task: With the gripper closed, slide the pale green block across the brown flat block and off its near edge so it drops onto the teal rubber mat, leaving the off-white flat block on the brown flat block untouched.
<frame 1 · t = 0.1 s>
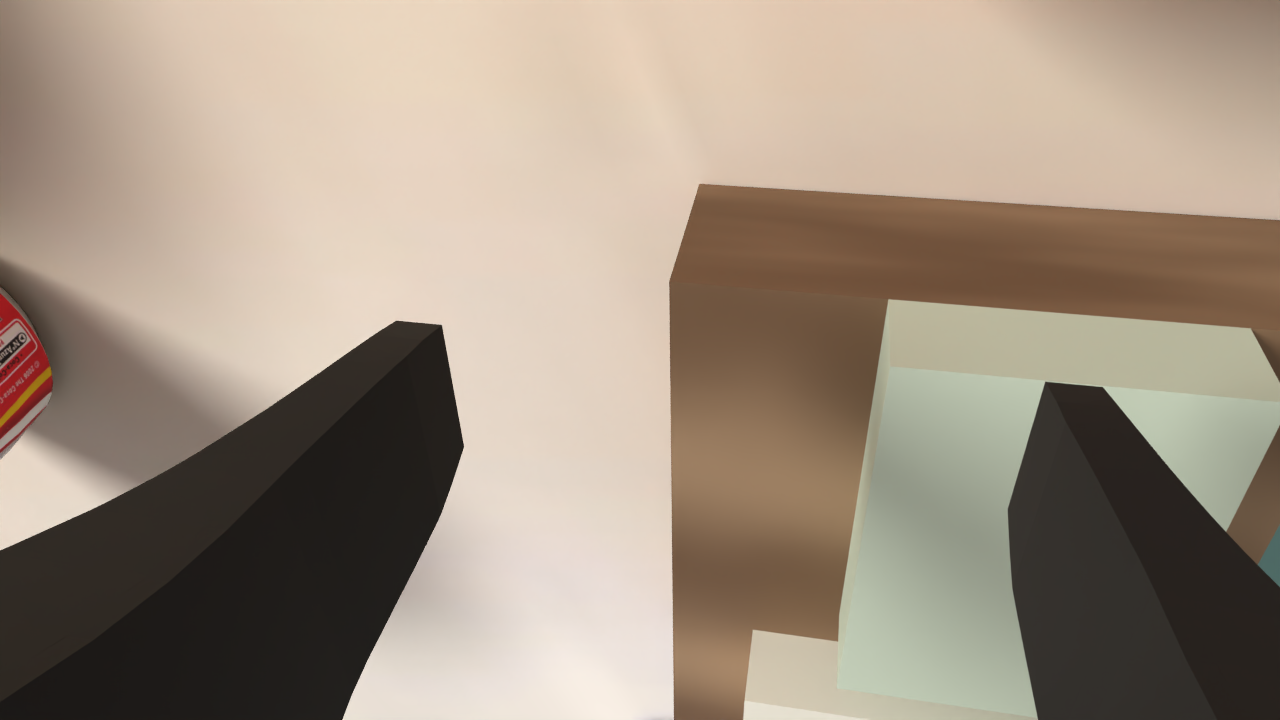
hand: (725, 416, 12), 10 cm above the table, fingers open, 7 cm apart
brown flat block: (925, 477, 25), on the table
pale green block: (1010, 495, 19), point 4 cm above the table, touching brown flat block
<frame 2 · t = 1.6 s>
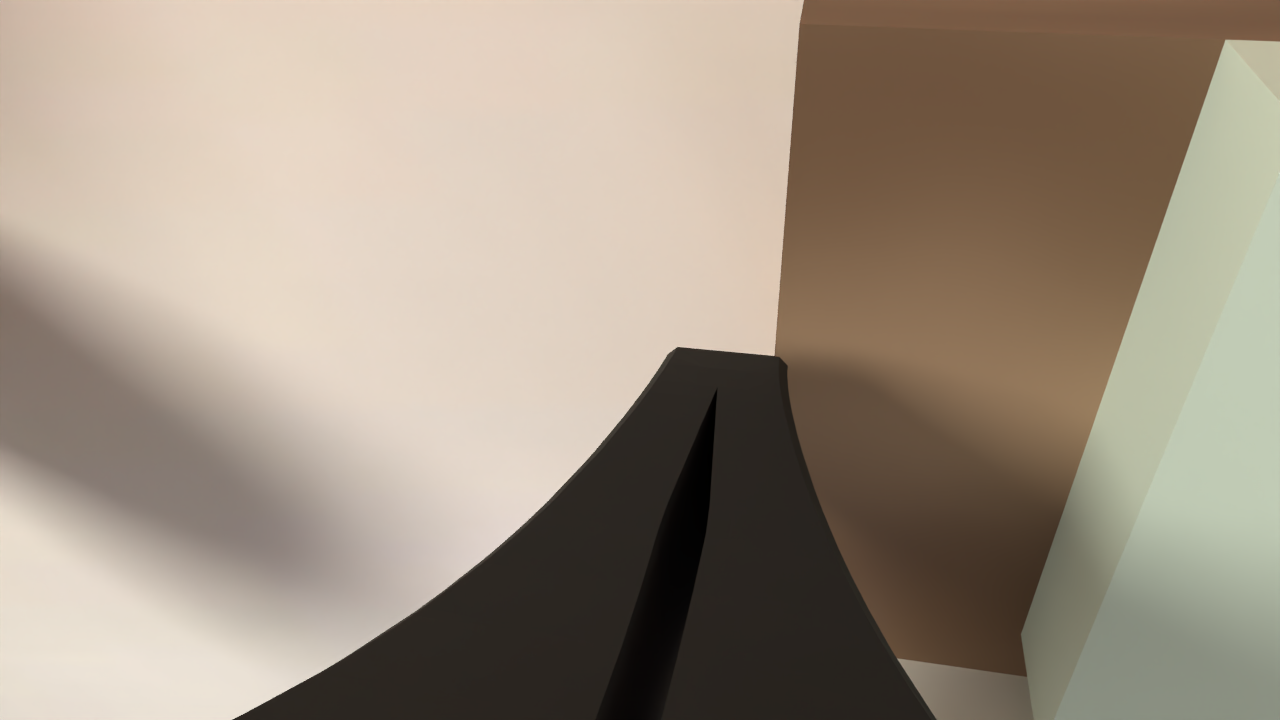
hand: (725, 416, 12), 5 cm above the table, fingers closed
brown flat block: (1125, 427, 17), on the table
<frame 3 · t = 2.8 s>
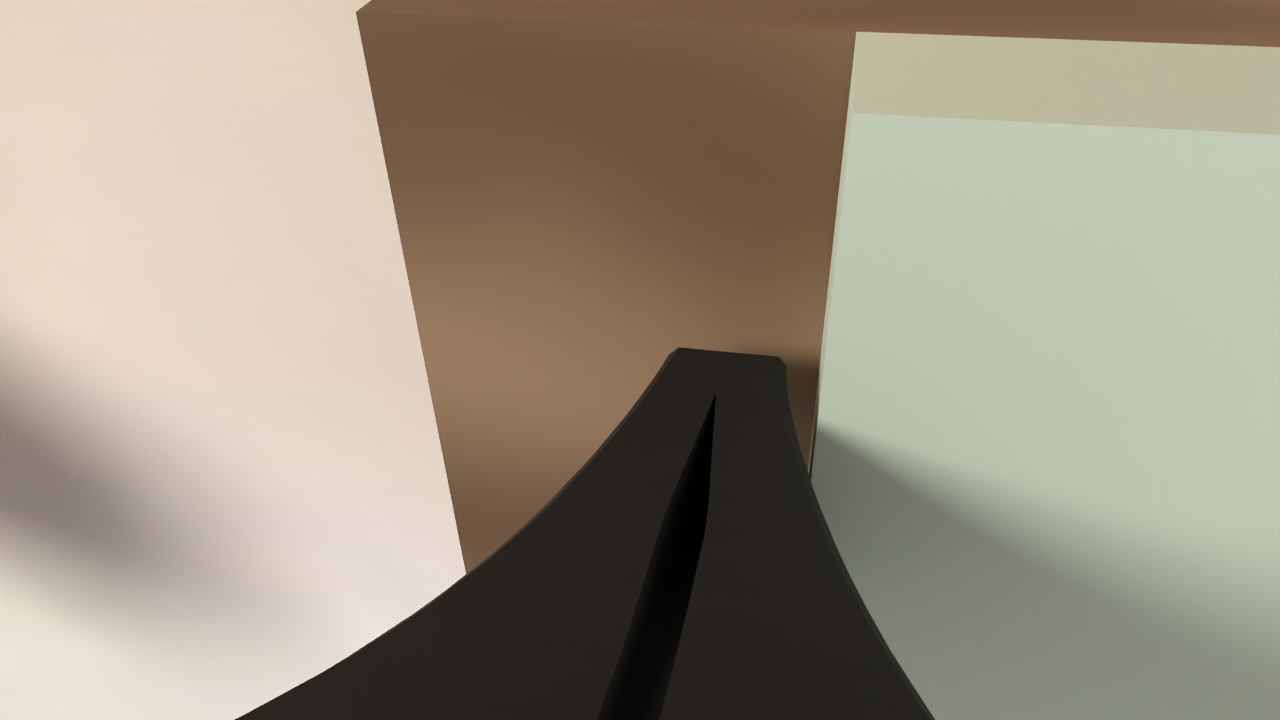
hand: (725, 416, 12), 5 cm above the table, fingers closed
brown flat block: (849, 407, 17), on the table
pale green block: (1067, 414, 12), point 4 cm above the table, touching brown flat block
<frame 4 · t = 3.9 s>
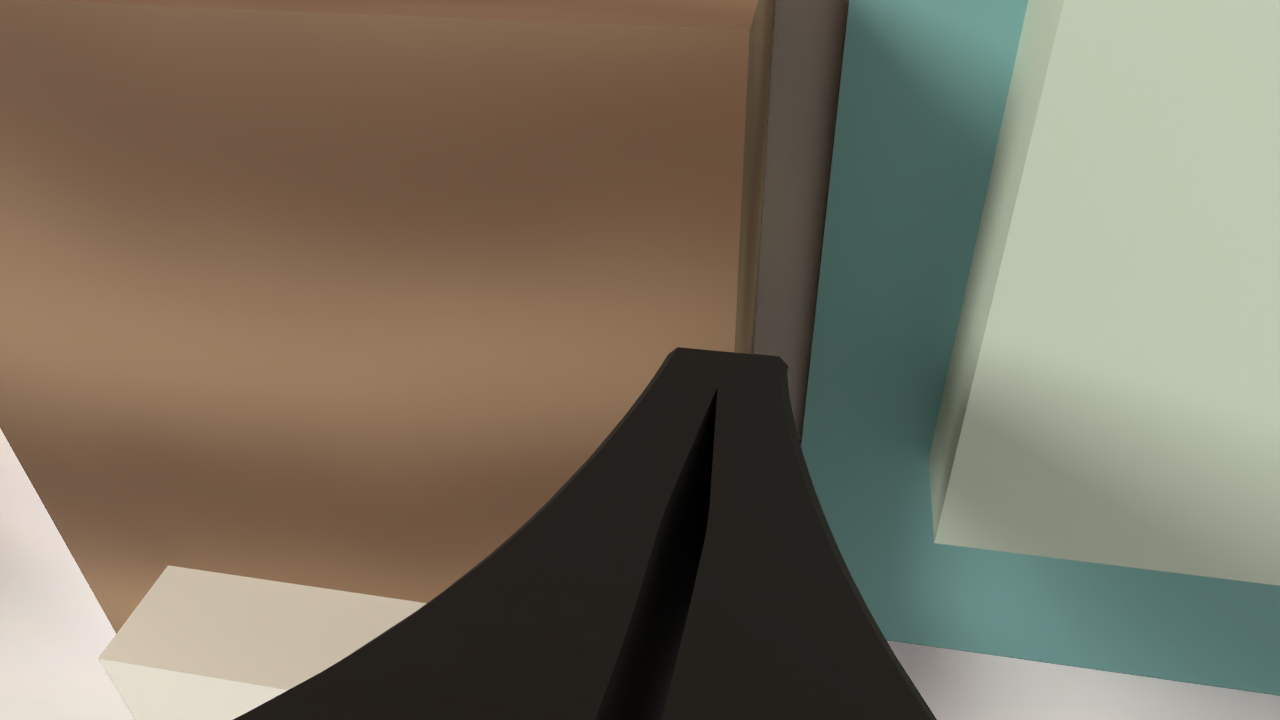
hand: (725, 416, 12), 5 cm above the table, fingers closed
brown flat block: (440, 365, 18), on the table
pale green block: (1228, 336, 12), point 2 cm above the table, tilted 180°, touching mat
off-white flat block: (429, 700, 18), point 4 cm above the table, touching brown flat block
mat: (1145, 391, 16), on the table
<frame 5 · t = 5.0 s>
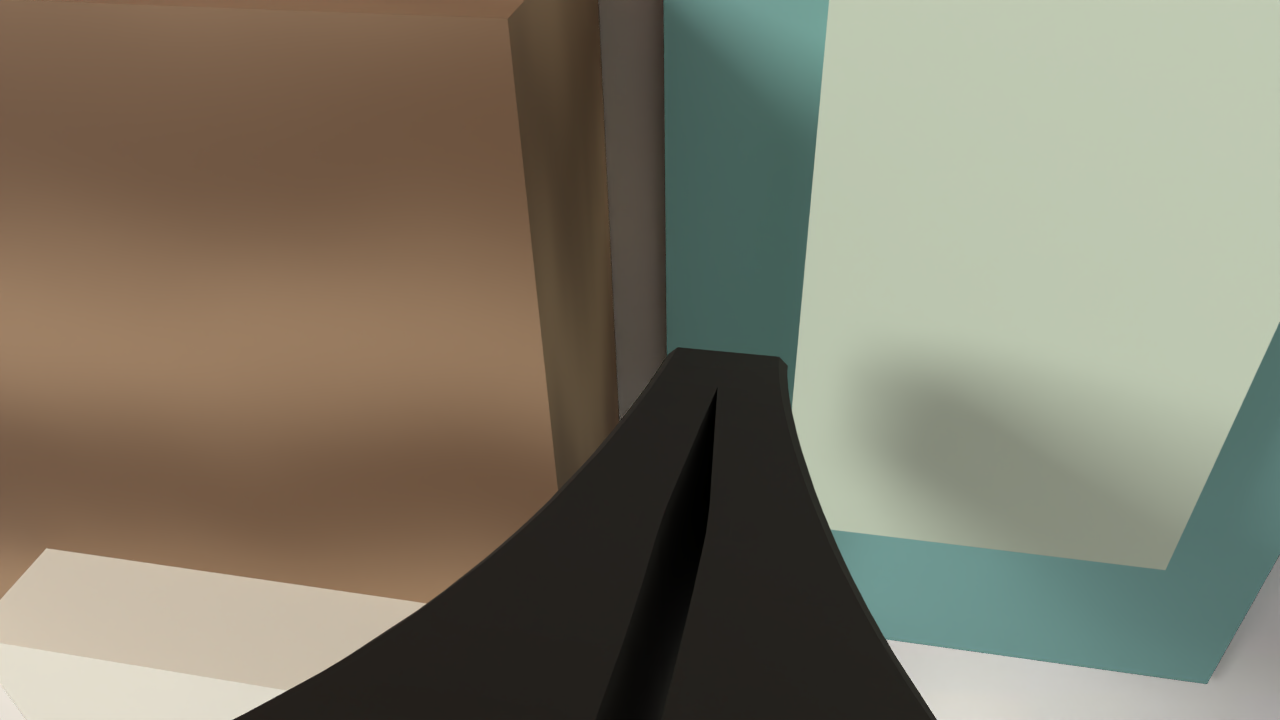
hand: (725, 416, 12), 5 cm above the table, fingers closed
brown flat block: (320, 353, 19), on the table
pale green block: (1027, 317, 13), point 2 cm above the table, tilted 180°, touching mat
off-white flat block: (309, 681, 19), point 4 cm above the table, touching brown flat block
mat: (989, 375, 16), on the table
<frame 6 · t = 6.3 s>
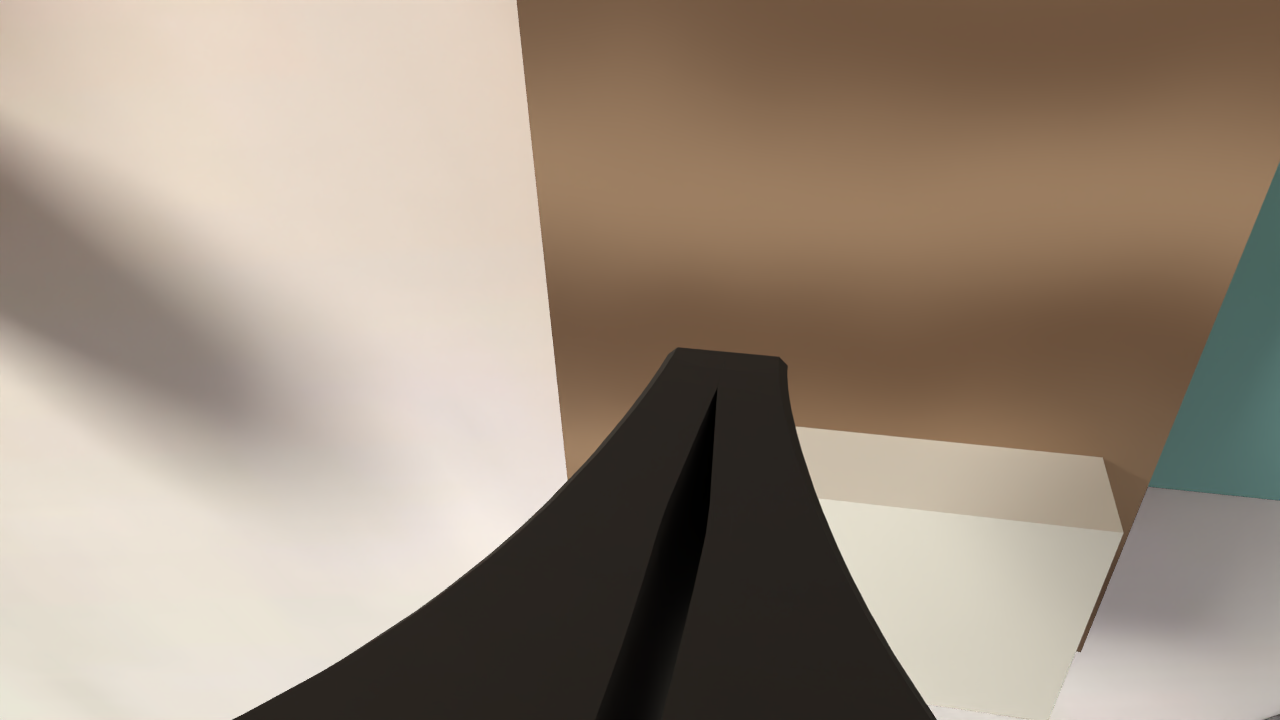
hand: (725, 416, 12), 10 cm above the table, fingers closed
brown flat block: (855, 247, 21), on the table
off-white flat block: (852, 534, 21), point 4 cm above the table, touching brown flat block
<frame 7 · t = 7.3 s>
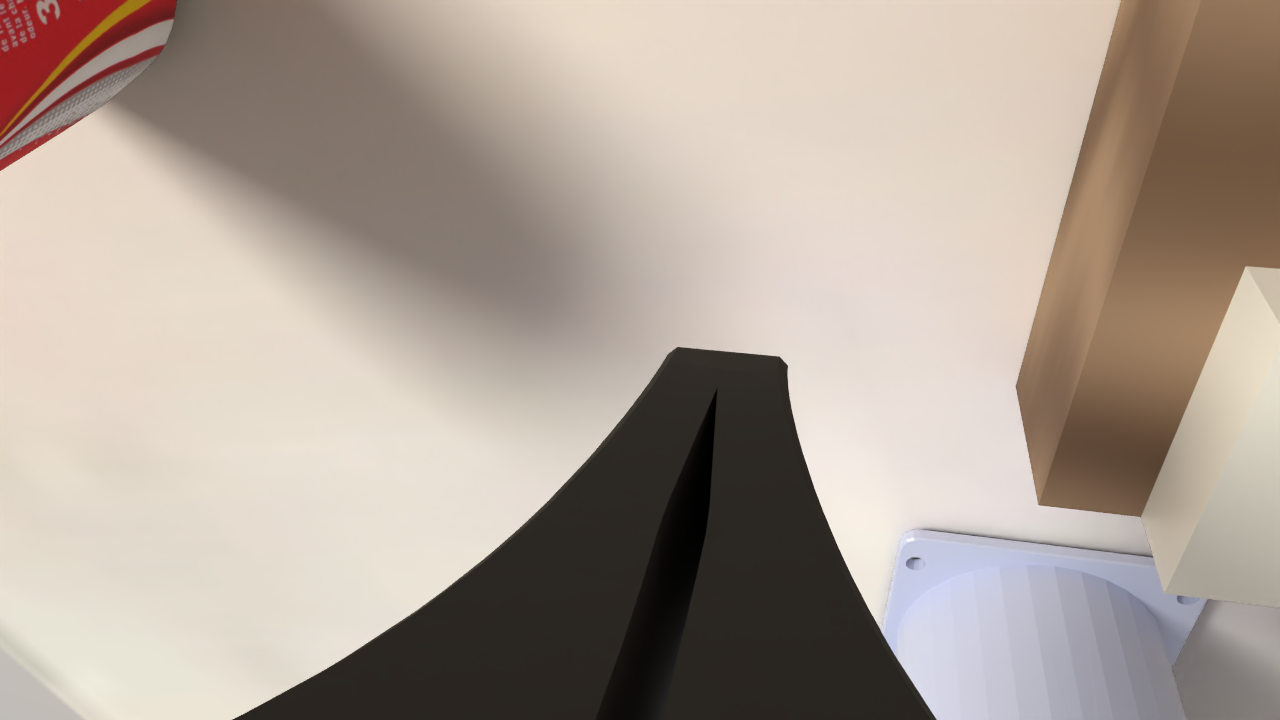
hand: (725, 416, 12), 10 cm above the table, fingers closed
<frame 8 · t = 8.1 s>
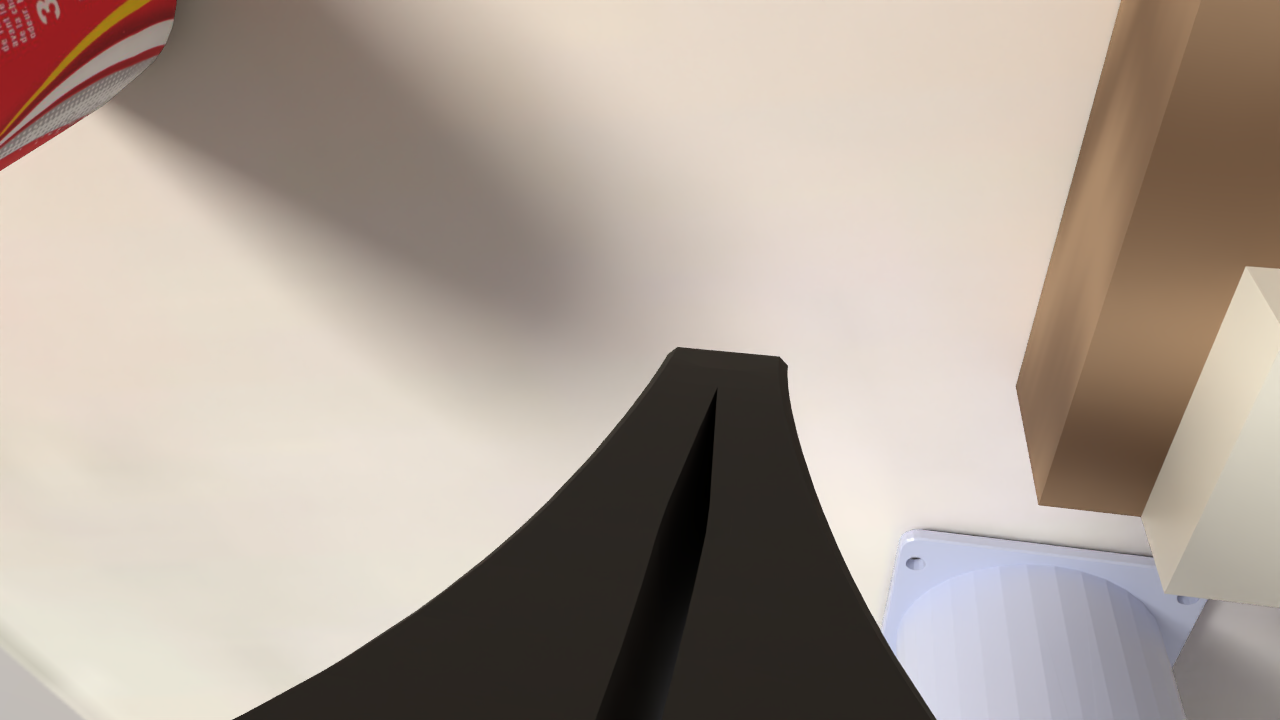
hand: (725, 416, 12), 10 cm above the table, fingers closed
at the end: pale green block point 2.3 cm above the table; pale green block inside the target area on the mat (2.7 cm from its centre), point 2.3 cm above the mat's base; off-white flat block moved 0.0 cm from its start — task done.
